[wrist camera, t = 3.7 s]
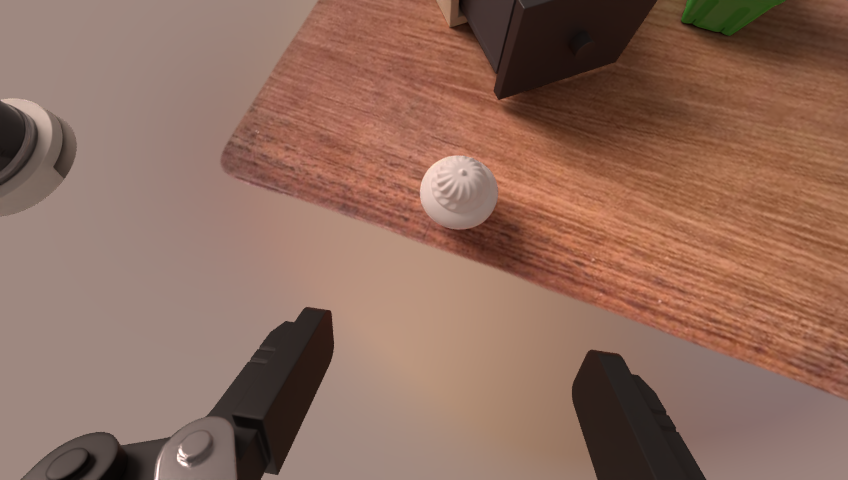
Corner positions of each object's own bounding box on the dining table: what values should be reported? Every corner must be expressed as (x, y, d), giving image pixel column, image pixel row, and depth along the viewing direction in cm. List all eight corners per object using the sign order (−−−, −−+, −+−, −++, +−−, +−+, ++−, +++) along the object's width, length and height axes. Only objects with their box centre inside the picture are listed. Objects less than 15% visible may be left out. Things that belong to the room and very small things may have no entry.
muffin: (503, 221, 28) (526, 186, 21) (442, 254, 27) (446, 228, 20) (467, 166, 29) (478, 117, 23) (409, 196, 29) (402, 154, 22)
